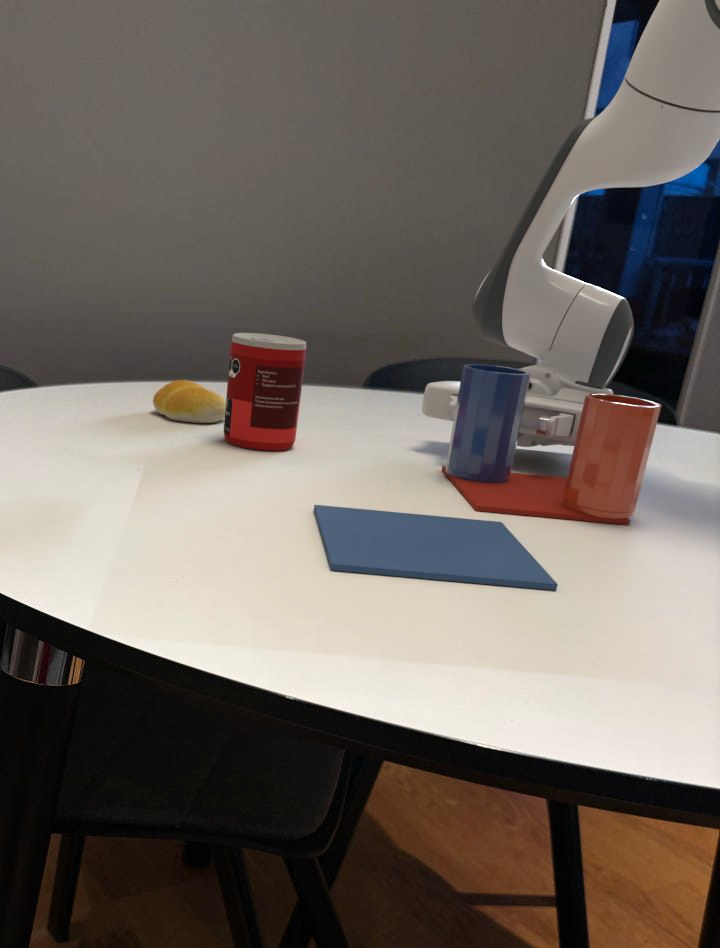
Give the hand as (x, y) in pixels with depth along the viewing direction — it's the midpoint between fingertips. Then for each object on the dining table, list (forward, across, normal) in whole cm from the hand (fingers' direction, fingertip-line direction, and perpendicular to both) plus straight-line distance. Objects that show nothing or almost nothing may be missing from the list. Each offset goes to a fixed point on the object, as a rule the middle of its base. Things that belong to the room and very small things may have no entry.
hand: (498, 419), depth 104 cm
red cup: (+8, +13, +5) cm, 16 cm away
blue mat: (+32, +4, +6) cm, 32 cm away
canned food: (+8, -23, +6) cm, 25 cm away
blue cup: (+4, 0, +5) cm, 7 cm away
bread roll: (+1, -36, +6) cm, 37 cm away
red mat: (+6, +6, +6) cm, 10 cm away
